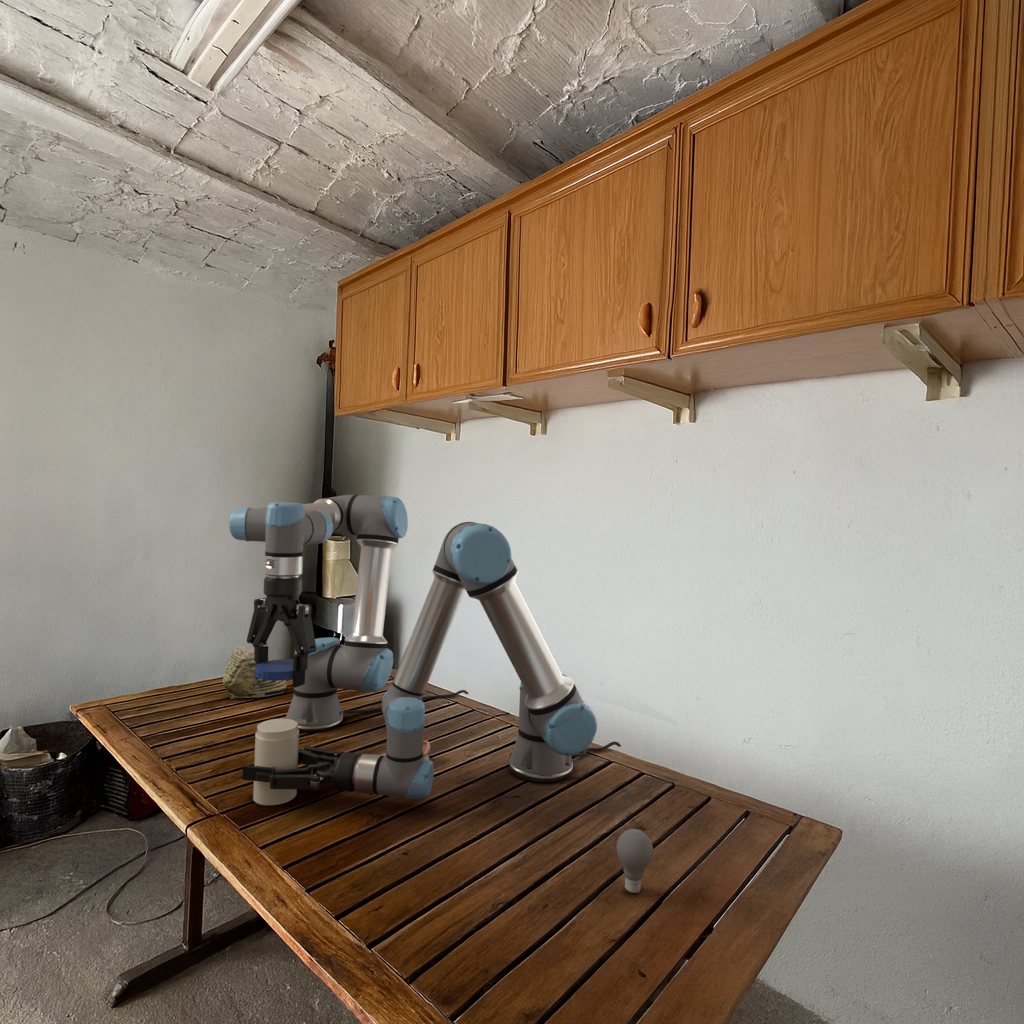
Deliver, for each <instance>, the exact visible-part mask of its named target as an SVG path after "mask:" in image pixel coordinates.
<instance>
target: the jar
mask: <svg viewBox="0 0 1024 1024" xmlns="http://www.w3.org/2000/svg"><path fill="white" fill-rule="evenodd" d="M299 745H300V731H299V729H298V723H297V722H296V721H294V720H291V719H286V718H272V719H268V720H265V721H262V722H259V723H258V724H257V726H256V732H255V734H254V756H253V758H254V759H253V766H260V767H270V768H273V767H275V770H285V769H296V768H299V765H298V749H300V748H299ZM252 782H253V783H252V784H253V786H252V800H253V801H254V802H255V804H258V805H261V806H278V805H282V804H285V803H288V802H290V801H292V800H293V799H295V798H296V796H297V794H298V789H270V782H261V781H252Z"/></svg>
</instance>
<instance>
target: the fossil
mask: <svg viewBox="0 0 1024 1024" xmlns="http://www.w3.org/2000/svg"><path fill="white" fill-rule="evenodd" d="M270 660H273V659H272V658H271V657H270V656H269V655H268V661H270ZM255 664H256V662H255V661H254V648H251V647H247V646H246V647H245V646H238V647H237V648H236V649H235V650H233V651H232V653H231V656H230V657H229V659H228V660H227V663H226V666H225V668H224V671H223V675H222V676H223V677H222V685H223V687H224V688H225V690H226V691H228V693H229V698H230V699H250V698H264V697H271V696H275V695H281V694H284V693H285V691H286V689H287V687H288V686H287V680H281V681H268V680H261V679H255V675H254V669H255Z"/></svg>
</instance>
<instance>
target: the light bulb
mask: <svg viewBox="0 0 1024 1024" xmlns="http://www.w3.org/2000/svg"><path fill="white" fill-rule="evenodd" d="M615 849H616V854H617V857H618V859H619V861H620V863H621V865H622V867H623V873H624V874H623V875H624V876H625V878H624V888H625V890H627V891H628V892H630V893H634V894H635V893H639V892H640V891H641V889H642V887H641V886H642V879H643V877H644V875H645V871H646V868H647V867H648V866H649V864H650V863H651V861H652V859H653V855H654V847H653V843H652V841H651V838H649V836H648V835H647V834H646V833H645V832H643V831H642V830H641V829H636V828H629V829H627V830H625V831H623V832H622V833H621V834H620V835H619V837H618V839H617V841H616V847H615Z"/></svg>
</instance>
